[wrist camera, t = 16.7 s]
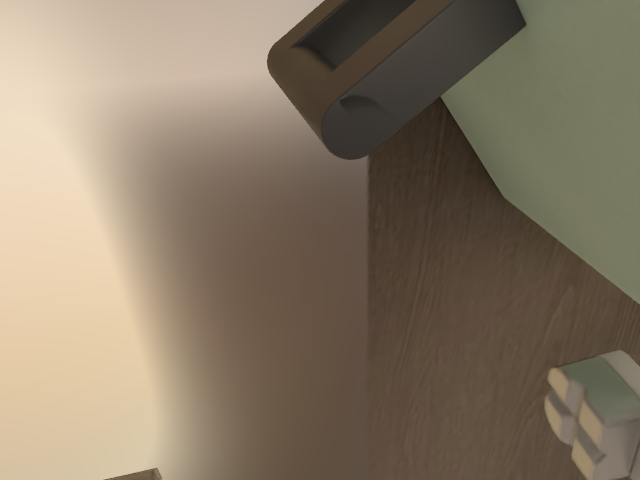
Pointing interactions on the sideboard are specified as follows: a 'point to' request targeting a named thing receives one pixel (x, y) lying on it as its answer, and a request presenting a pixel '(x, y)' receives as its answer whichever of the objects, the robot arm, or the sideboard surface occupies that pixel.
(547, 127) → the fridge door
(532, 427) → the sideboard surface
